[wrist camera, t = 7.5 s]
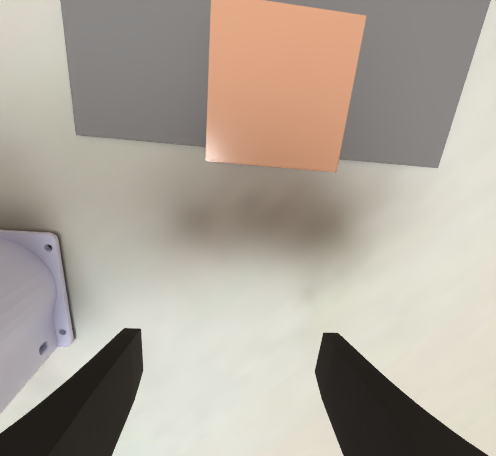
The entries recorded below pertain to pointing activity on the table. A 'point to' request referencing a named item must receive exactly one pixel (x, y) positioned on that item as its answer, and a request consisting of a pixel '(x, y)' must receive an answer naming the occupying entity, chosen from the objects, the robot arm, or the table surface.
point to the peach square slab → (279, 83)
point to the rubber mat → (197, 66)
